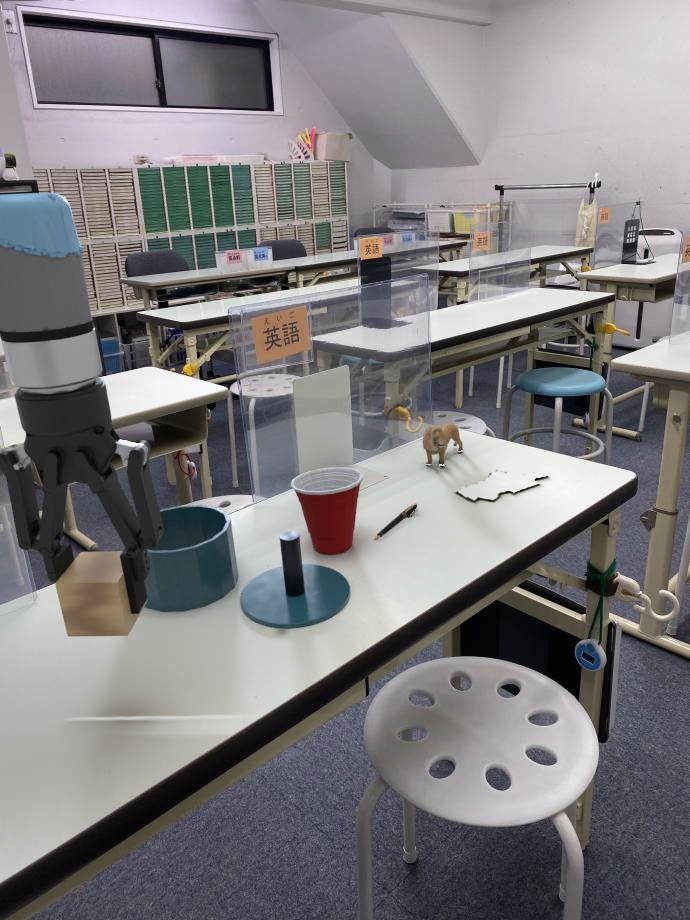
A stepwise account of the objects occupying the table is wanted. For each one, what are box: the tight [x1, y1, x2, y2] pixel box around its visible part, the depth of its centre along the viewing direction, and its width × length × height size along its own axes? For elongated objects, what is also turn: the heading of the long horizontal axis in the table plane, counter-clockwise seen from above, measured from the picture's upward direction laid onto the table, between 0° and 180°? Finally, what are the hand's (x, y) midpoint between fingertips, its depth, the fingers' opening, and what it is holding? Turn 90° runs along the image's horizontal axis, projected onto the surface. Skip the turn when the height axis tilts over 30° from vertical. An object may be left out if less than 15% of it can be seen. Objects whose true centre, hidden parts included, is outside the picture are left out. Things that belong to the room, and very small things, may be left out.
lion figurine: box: [422, 422, 464, 465], centre depth 135 cm, size 15×5×9 cm, turn 154°
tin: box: [144, 504, 239, 613], centre depth 96 cm, size 14×14×10 cm
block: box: [54, 550, 147, 638], centre depth 68 cm, size 6×6×6 cm
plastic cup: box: [290, 466, 364, 556], centre depth 103 cm, size 11×11×12 cm
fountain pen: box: [373, 502, 418, 540], centre depth 111 cm, size 14×1×2 cm, turn 146°
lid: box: [240, 530, 351, 629], centre depth 91 cm, size 15×15×10 cm
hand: (106, 606), depth 68 cm, fingers closed on block, 6 cm apart
